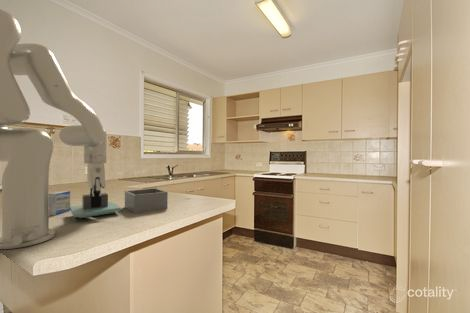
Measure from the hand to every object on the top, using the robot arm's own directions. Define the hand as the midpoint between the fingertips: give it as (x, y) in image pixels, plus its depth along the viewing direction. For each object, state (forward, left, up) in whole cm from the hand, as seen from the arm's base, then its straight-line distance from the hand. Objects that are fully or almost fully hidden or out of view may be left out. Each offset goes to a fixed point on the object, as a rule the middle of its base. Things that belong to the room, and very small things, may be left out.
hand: (95, 205), depth 87 cm
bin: (-2, -19, -4) cm, 20 cm away
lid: (0, 0, -2) cm, 2 cm away
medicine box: (+15, +11, -5) cm, 19 cm away
